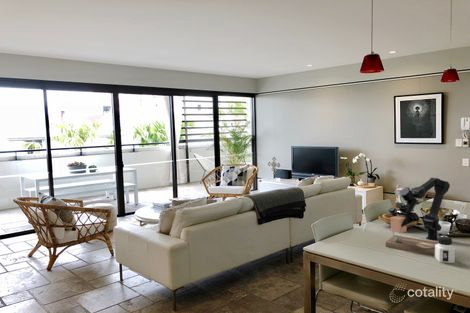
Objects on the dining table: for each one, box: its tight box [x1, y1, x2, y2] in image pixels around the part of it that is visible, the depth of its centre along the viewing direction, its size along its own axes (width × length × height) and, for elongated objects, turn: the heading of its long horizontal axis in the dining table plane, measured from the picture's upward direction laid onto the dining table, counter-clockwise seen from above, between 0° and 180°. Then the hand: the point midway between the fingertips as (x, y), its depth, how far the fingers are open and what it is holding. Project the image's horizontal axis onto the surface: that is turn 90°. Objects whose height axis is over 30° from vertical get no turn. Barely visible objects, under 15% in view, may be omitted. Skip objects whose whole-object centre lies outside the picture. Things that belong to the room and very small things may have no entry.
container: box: [434, 235, 456, 264], centre depth 201 cm, size 8×8×13 cm
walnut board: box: [385, 234, 438, 257], centre depth 224 cm, size 18×28×5 cm, turn 50°
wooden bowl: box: [378, 212, 423, 230], centre depth 270 cm, size 30×24×8 cm
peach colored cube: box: [390, 216, 407, 234], centre depth 225 cm, size 6×6×8 cm
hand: (396, 225), depth 225 cm, fingers closed on peach colored cube, 6 cm apart
